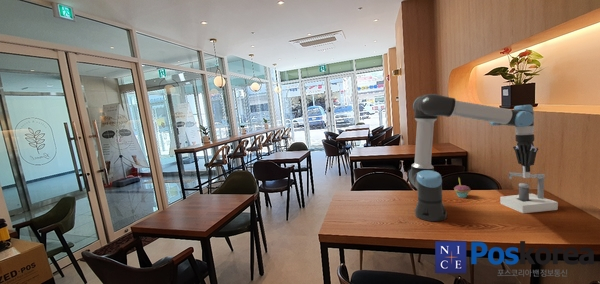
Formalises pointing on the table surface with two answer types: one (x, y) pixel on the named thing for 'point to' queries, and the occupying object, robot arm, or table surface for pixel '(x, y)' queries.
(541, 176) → the clip
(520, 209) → the socket block
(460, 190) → the cupcake
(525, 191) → the plug
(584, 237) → the table surface
